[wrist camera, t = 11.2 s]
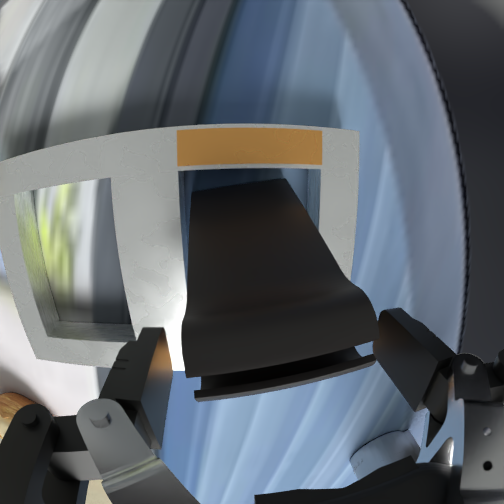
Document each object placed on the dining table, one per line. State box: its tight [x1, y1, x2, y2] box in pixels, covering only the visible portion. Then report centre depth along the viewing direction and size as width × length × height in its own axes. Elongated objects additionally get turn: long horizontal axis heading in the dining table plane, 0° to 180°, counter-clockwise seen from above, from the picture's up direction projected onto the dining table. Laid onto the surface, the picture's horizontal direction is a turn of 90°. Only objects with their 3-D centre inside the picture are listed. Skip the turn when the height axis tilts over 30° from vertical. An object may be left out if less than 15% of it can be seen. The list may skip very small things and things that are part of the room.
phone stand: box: [181, 178, 380, 402], centre depth 13 cm, size 9×6×12 cm, turn 7°
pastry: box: [0, 392, 36, 439], centre depth 19 cm, size 12×12×9 cm
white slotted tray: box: [0, 124, 359, 370], centre depth 17 cm, size 25×16×3 cm, turn 91°
